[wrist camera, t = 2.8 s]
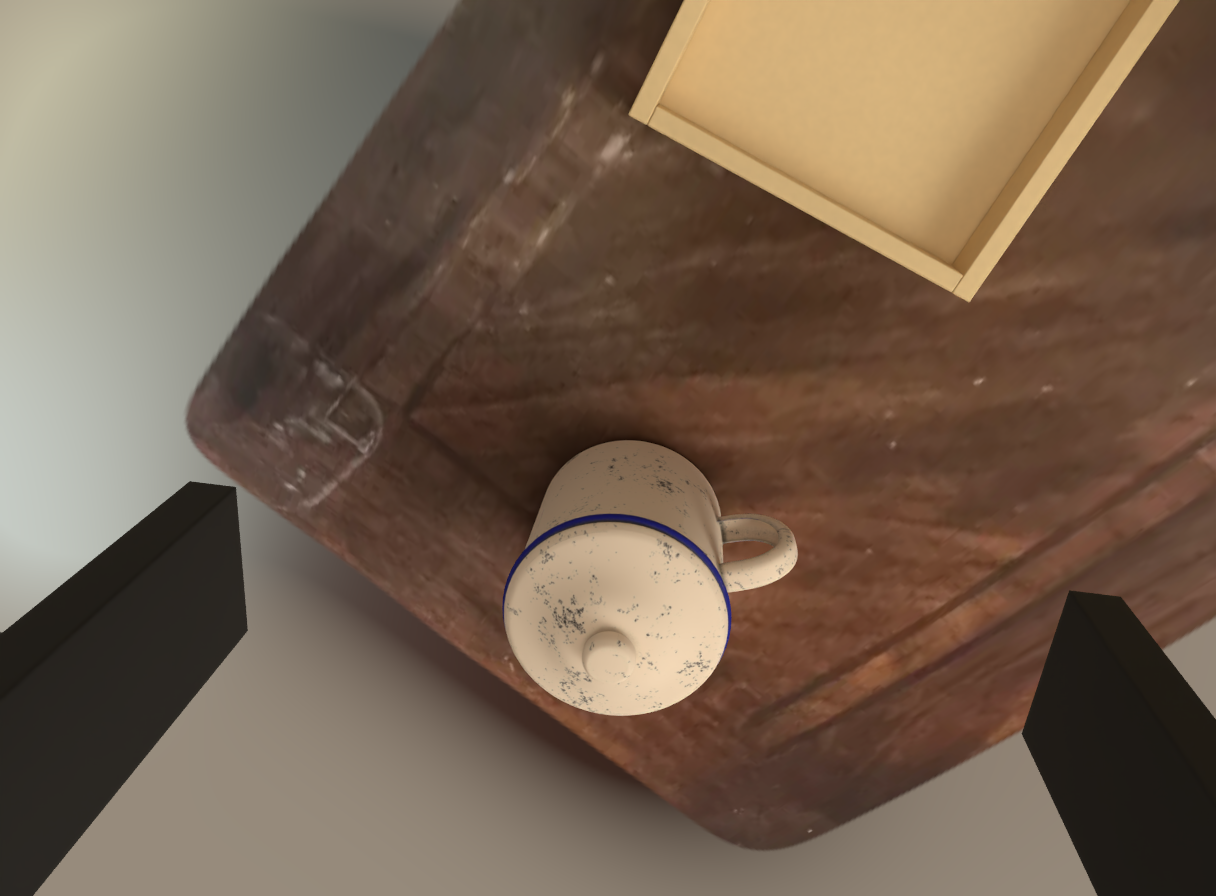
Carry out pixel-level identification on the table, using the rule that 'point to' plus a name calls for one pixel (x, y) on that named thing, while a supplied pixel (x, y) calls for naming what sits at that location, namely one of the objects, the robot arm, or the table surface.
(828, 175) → the wooden tray
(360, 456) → the table surface
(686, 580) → the teacup with lid
